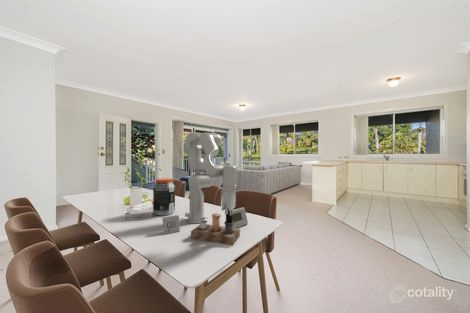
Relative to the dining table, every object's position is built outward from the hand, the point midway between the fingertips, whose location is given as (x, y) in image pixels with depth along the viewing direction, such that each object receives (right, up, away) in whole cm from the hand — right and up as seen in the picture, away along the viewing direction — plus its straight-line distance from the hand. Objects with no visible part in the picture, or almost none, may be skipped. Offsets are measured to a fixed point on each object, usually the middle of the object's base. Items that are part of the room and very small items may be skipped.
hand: (229, 222), depth 104 cm
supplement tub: (-51, -8, +44) cm, 68 cm away
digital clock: (+4, -9, +19) cm, 22 cm away
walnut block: (-7, -9, +3) cm, 12 cm away
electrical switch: (-35, -9, +9) cm, 37 cm away
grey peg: (-15, -9, +5) cm, 18 cm away
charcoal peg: (0, -9, 0) cm, 9 cm away
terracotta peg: (-7, -6, +3) cm, 10 cm away
